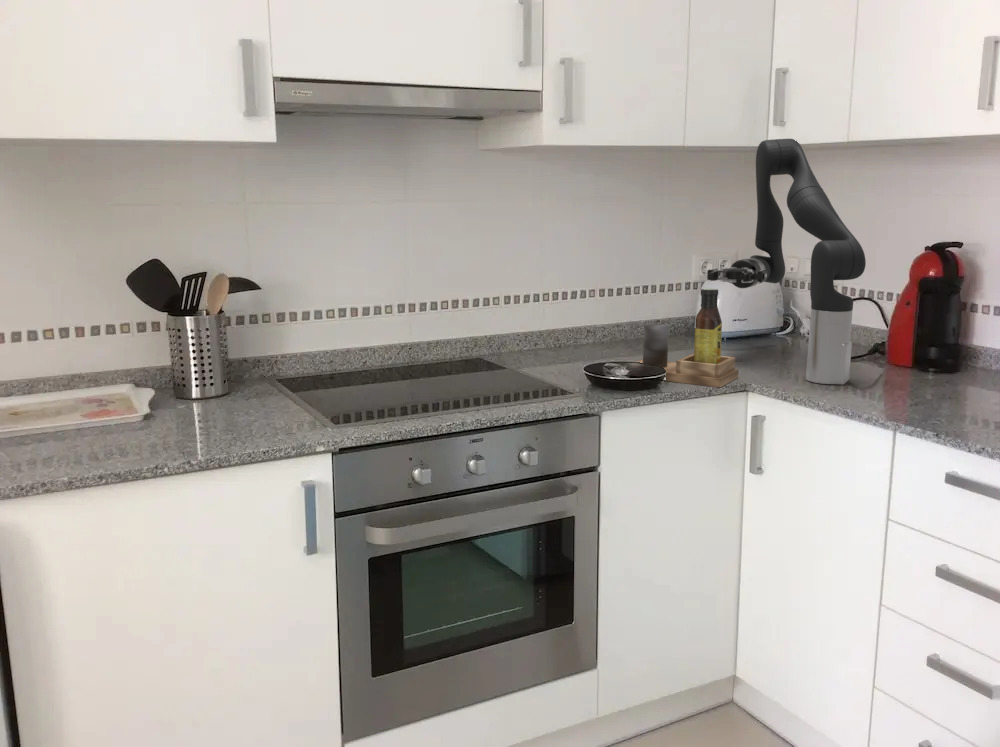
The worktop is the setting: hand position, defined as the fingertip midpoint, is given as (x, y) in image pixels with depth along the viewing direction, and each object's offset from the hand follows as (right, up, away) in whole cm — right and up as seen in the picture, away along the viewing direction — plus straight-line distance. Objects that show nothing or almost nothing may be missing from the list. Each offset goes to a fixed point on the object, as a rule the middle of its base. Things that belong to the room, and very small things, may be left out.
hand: (728, 277), depth 222 cm
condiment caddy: (-13, -25, -5) cm, 28 cm away
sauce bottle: (-7, -24, -8) cm, 26 cm away
